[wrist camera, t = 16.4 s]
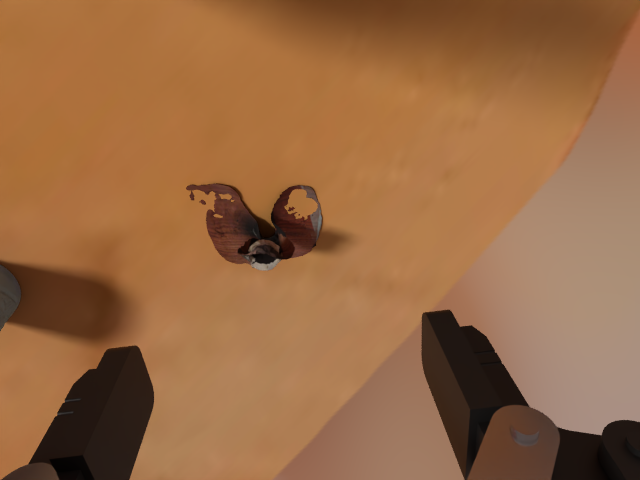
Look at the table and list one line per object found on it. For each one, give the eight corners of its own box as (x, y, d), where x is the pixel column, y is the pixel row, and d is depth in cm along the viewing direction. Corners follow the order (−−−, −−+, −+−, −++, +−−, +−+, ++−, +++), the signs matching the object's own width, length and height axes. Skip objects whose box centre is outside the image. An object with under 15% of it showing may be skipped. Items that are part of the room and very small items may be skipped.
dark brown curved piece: (320, 297, 48) (210, 206, 40) (248, 314, 55) (144, 241, 48) (344, 220, 54) (252, 129, 47) (276, 245, 62) (188, 171, 54)
